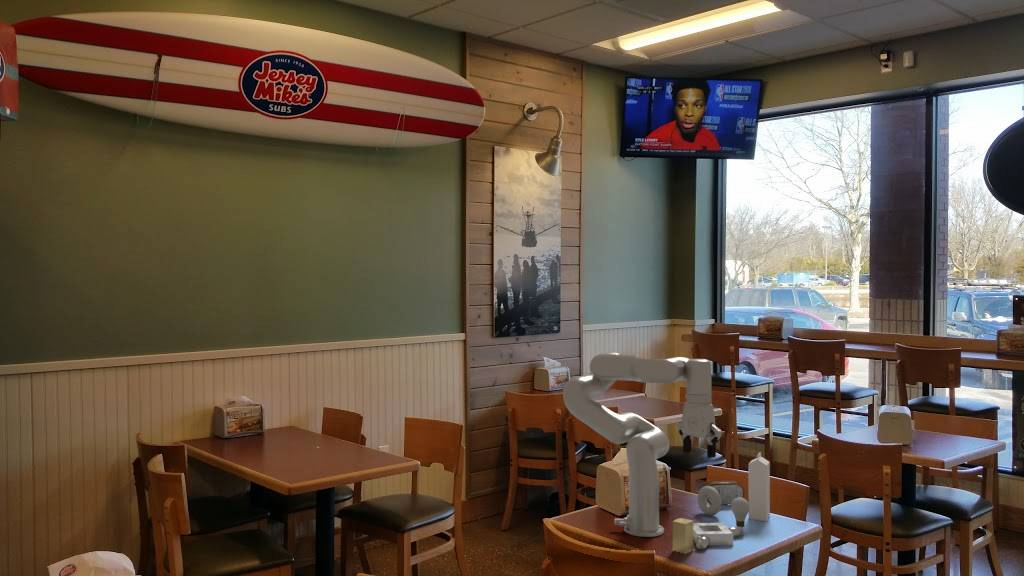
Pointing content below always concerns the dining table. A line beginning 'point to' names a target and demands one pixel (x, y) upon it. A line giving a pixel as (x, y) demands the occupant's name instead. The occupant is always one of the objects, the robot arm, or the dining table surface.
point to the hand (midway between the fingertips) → (699, 454)
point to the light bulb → (740, 510)
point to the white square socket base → (713, 533)
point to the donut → (714, 498)
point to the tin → (727, 491)
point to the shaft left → (703, 542)
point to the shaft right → (737, 531)
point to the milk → (759, 488)
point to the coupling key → (683, 535)
